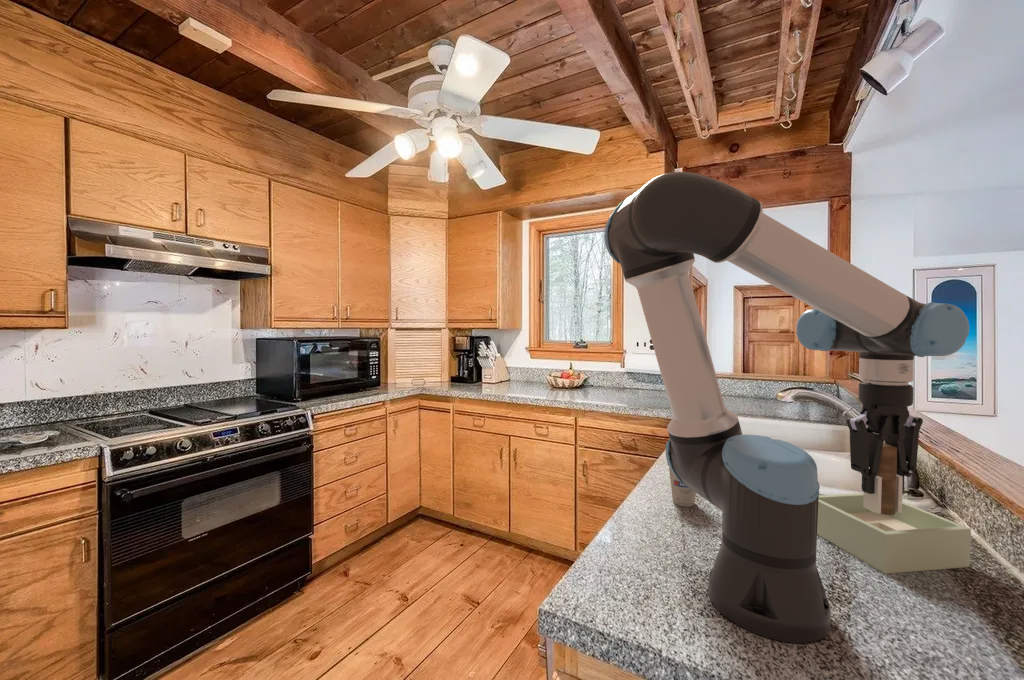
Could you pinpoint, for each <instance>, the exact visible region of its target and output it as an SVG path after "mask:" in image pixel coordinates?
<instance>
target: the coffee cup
mask: <svg viewBox="0 0 1024 680" xmlns="http://www.w3.org/2000/svg"><path fill="white" fill-rule="evenodd" d="M667 465H668V464H667ZM668 471H669V478H670V488H671V489H670V490H671V497H672V502H673V503H674V504H675V505H677V506H679V507H680V506H681V507H686V508H687V507H689V508H690V507H693V506H695V501H696V494H697V493H696V492H695V491H693V490H691V489H689V488H688V487H686V486H685V485H684V484H683V483H682V482H681V481H680V480H679V479H678V478H677V477H676V476H675V475H674V474H673V472H672V471H671V469H670V467H669V465H668Z"/></svg>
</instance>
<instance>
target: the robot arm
mask: <svg viewBox="0 0 1024 680" xmlns="http://www.w3.org/2000/svg"><path fill="white" fill-rule="evenodd" d="M603 234H604V236H603V238H604V245H605V248H606V250H607V253H608V254H609V255H610V257H611V258H612V259H613V260H614V261H615V262H616V263H618V264H619V265H620V267H621V270H622V273H623V275H622V276H623V278H624V281H625V283H628V284H630V285H631V286H633V287H635V288H636V290H637V294H638V297H639V301H640V304H641V308H642V311H643V314H644V319H645V322H646V325H647V329H648V333H649V336H650V339H651V344H652V348H653V350H654V354H655V358H656V361H657V364H658V368H659V372H660V376H661V378H662V381H663V386H664V388H665V389H664V390H665V393H666V396H667V401H668V404H669V407H670V411H671V414H672V419H670V421H669V423H668V424H667V427H666V429H667V433H668V437H669V438H668V441H666V443H665V444H666V445H665V459H666V462H667V465H669V466H668V468H669V467H670V469H671V471H672V472H673V474H674V475H675V476H676V477H677V478H678V479H679V480H680V481H681V482H682V483H683V484H684V485H685V486H686V487H688V488H689V489H691V490H693V491H695V492H696V494H698V495H699V496H700V497H701V498H704V500H706V501H708V503H710V504H711V505H713V506H715V507H716V508H717V509H719V510H721V512H722V514H721V515H722V517H721V519H722V520H721V521H722V523H721V525H722V526H721V536H722V538H721V545H720V547H719V549H718V551H717V555H716V557H715V560H714V563H713V566H712V569H711V570H710V571H709V574H708V591H707V592H708V597H709V600H710V601H711V603H712V604H713V606H714V607H715V608H716V610H717V611H718V612H719V613H721V614H722V615H723V616H724V617H725V618H726V619H728V620H729V621H731V622H733V623H734V624H735V625H738V626H739V627H741V628H743V629H745V630H748V631H749V632H751V633H754V634H756V635H759V636H762V637H765V638H767V639H771V640H776V641H780V642H786V643H797V644H798V643H799V644H803V643H805V644H806V643H813V642H818V641H820V640H822V639H824V638H826V637H827V636H828V635H829V633H830V632H831V626H832V624H831V623H832V620H831V619H832V610H831V605H830V602H829V600H828V598H827V594H826V591H825V588H824V585H823V582H822V578H821V576H820V572H819V570H818V567H817V546H818V545H817V544H818V534H817V524H818V501H819V495H820V482H819V479H818V467H817V463H816V461H815V459H814V458H813V456H811V455H810V454H809V453H808V452H807V451H806V450H805V449H803V448H801V447H800V446H797V445H795V444H793V443H791V442H789V441H785V440H782V439H779V438H778V439H774V438H772V437H771V436H764V435H758V434H744V433H743V431H742V428H741V424H740V421H739V417H738V415H737V414H736V413H735V412H734V411H731V410H730V409H728V408H726V406H725V403H724V400H723V396H722V391H721V389H720V385H719V381H718V378H717V373H716V370H715V366H714V362H713V359H712V355H711V351H710V348H709V344H708V340H707V337H706V333H705V329H704V326H703V323H702V317H701V315H700V311H699V307H698V304H697V300H696V297H695V292H694V288H693V285H692V281H691V279H690V274H689V273H690V270H691V268H692V267H693V265H694V263H695V262H696V257H695V255H697V256H700V257H704V258H706V259H708V260H709V261H711V262H713V263H715V264H716V263H717V264H720V263H724V262H729V263H731V264H733V265H734V266H736V267H737V268H740V269H742V270H743V271H745V272H747V273H748V274H751V275H753V276H754V277H757V278H758V279H760V280H762V281H764V282H766V283H767V284H769V285H770V286H773V287H774V288H777V289H778V290H780V291H782V292H784V293H786V294H788V295H790V296H791V297H793V298H795V299H797V300H799V301H801V302H802V303H804V304H806V305H808V306H810V307H812V308H810V309H807V310H805V311H804V312H803V313H802V314H801V315H800V317H799V318H798V320H797V322H796V337H797V340H798V341H799V342H798V343H800V345H801V346H802V347H803V348H806V349H808V350H810V351H821V352H828V351H841V352H844V351H845V352H855V353H856V352H857V353H859V356H858V358H859V359H858V361H859V362H858V365H859V366H858V378H859V379H860V380H861V382H860V383H858V401H860V403H861V404H862V408H861V410H860V412H859V414H858V415H857V416H855V417H851V416H849V417H847V418H846V420H845V421H846V424H847V428H848V430H849V449H850V450H849V451H850V452H849V456H850V468H851V470H853V471H856V472H858V473H860V474H861V491H862V492H863V493H864V498H863V507H864V508H866V509H868V510H870V511H873V512H875V513H877V514H879V513H881V492H882V477H879V476H877V475H878V470H879V464H880V459H881V453H882V448H883V444H888V445H892V446H896V447H897V475H896V510H895V511H896V512H902V502H903V493H904V490H905V477H907V478H910V477H911V476H912V475H913V473H912V472H916V471H917V465H918V464H917V463H918V450H919V436H920V430H921V429H922V425H923V422H924V419H923V418H922V417H917V416H914V415H911V414H910V411H909V408H908V407H912V406H913V404H914V387H913V385H911V384H909V383H913V381H914V361H915V360H914V359H915V357H919V358H925V357H946V356H947V357H948V356H951V355H953V354H955V353H957V352H958V351H959V350H960V349H962V347H964V345H965V343H966V341H967V338H968V337H969V333H970V323H969V319H968V317H967V315H966V314H965V312H964V311H963V310H962V309H961V308H960V307H958V306H957V305H954V304H950V303H945V302H944V303H940V302H939V303H938V302H933V301H932V302H928V303H923V302H919V301H918V300H916V299H914V298H912V297H910V296H908V295H906V294H904V293H903V292H900V291H899V290H897V289H896V288H894V287H892V286H890V285H889V284H887V283H885V282H884V281H881V280H880V279H878V278H877V277H875V276H874V275H872V274H869V273H868V272H866V271H864V270H862V269H861V268H859V267H858V266H856V265H854V264H853V263H850V262H849V261H847V260H846V259H844V258H842V257H840V256H838V255H836V254H835V253H833V252H832V251H830V250H828V249H827V248H824V247H823V246H821V245H819V244H818V243H816V242H814V241H812V240H811V239H808V238H807V237H805V236H804V235H802V234H800V233H798V232H797V231H795V230H793V229H791V228H790V227H788V226H787V225H785V224H783V223H781V222H779V221H777V219H775V218H773V217H771V216H769V215H767V214H765V213H764V211H763V204H762V202H761V201H760V200H758V199H757V198H755V197H753V196H751V195H749V194H748V193H746V192H744V191H742V190H740V189H738V188H737V187H735V186H733V185H731V184H728V183H726V182H724V181H722V180H719V179H716V178H713V177H710V176H707V175H703V174H700V173H694V172H690V171H689V172H688V171H672V172H668V173H667V172H666V173H663V174H661V175H657V176H655V177H654V178H651V180H649V181H648V182H647V183H645V184H644V185H643V186H642V187H641V188H640V189H638V190H637V191H636V192H634V193H633V194H632V195H630V196H628V197H626V198H625V199H624V200H623V201H620V203H619V204H618V205H617V206H616V207H615V209H614V210H613V211H612V213H611V214H610V215H609V217H608V219H607V222H606V224H605V228H604V233H603Z"/></svg>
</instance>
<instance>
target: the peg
mask: <svg viewBox="0 0 1024 680" xmlns="http://www.w3.org/2000/svg"><path fill="white" fill-rule="evenodd" d="M896 475H897V447H896V446H892V445H888V444H885V443H883V448H882V453H881V459H880V464H879V470H878V475H877V476H879V477H882V492H881V513H880V514H885V515H894V514H895V510H896Z"/></svg>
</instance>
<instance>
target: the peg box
mask: <svg viewBox="0 0 1024 680" xmlns="http://www.w3.org/2000/svg"><path fill="white" fill-rule="evenodd" d="M863 498H864V492H859V493H858V492H855V493H839V494H819V501H818V524H817V536H819V537H821V538H823V539H825V540H826V541H828V542H830V543H831V544H833V545H834V546H837V547H839V548H841V549H842V550H843V551H845V552H847V553H849V554H850V555H851V556H854V557H855V558H857V559H859V560H861V561H862V562H864V563H866V564H867V565H869V566H871V567H873V568H875V569H876V570H878V571H879V572H881V573H883V574H886V575H887V574H897V573H899V574H901V573H911V572H922V571H924V572H926V571H934V570H947V569H948V570H949V569H950V570H951V569H958V568H960V569H961V568H970V564H971V562H970V561H971V559H970V558H971V536H972V535H971V533H972V528H971V527H967V526H965V525H962V524H960V523H958V522H955V521H952V520H950V519H947V518H945V517H942V516H940V515H938V514H934V513H932V512H929V511H927V510H925V509H922V508H920V507H917V506H914V505H911V504H910V503H907V502H904V501H902V512H896V511H895V514H894V515H885V514H880V513H879V514H877V513H875V512H873V511H870V510H868V509H866V508H864V507H863Z"/></svg>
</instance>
